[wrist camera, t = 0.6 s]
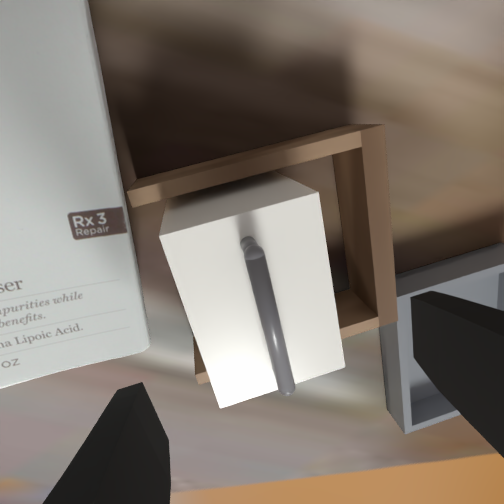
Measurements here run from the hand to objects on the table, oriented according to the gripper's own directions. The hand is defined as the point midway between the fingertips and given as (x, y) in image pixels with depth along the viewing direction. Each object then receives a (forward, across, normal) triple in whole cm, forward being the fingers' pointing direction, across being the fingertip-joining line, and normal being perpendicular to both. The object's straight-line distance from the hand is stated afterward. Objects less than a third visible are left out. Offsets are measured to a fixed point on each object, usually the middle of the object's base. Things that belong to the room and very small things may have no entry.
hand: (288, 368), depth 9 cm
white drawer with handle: (+9, 0, 0) cm, 9 cm away
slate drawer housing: (+9, -11, +9) cm, 17 cm away
